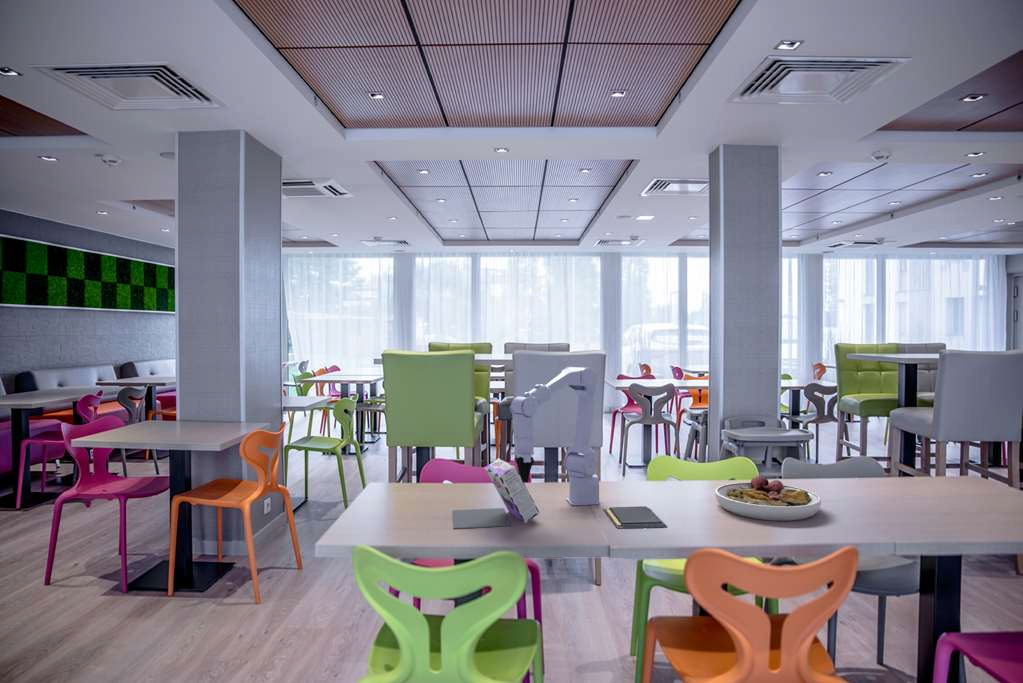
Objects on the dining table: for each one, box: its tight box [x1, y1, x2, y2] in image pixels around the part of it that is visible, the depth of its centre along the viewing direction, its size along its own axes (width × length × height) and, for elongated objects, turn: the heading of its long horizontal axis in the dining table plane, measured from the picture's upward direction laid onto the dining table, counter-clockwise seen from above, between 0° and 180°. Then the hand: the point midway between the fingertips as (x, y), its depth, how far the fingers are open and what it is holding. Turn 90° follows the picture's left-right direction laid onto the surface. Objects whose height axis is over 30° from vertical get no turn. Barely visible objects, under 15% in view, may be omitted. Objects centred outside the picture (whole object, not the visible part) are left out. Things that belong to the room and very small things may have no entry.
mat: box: [452, 507, 511, 530], centre depth 179 cm, size 16×18×1 cm
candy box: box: [484, 457, 540, 524], centre depth 179 cm, size 14×6×16 cm, turn 21°
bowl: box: [714, 475, 822, 522], centre depth 186 cm, size 30×30×8 cm
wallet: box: [602, 505, 668, 530], centre depth 178 cm, size 20×2×15 cm
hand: (524, 481), depth 181 cm, fingers closed
